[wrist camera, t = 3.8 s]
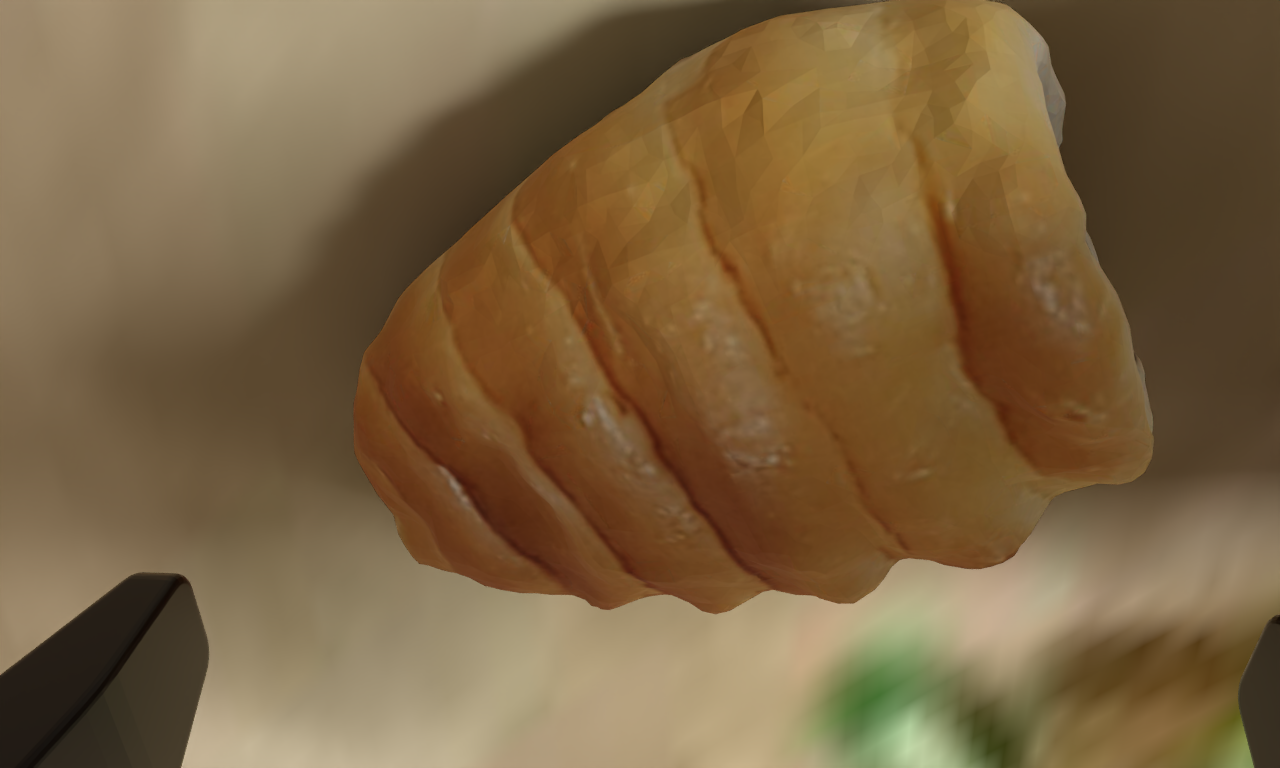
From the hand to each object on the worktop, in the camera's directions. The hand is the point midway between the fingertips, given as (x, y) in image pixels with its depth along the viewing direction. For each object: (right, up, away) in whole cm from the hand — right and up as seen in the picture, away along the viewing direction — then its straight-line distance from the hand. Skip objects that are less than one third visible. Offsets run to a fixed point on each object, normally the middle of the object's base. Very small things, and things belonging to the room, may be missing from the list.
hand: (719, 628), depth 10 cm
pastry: (-2, +5, +5) cm, 8 cm away
